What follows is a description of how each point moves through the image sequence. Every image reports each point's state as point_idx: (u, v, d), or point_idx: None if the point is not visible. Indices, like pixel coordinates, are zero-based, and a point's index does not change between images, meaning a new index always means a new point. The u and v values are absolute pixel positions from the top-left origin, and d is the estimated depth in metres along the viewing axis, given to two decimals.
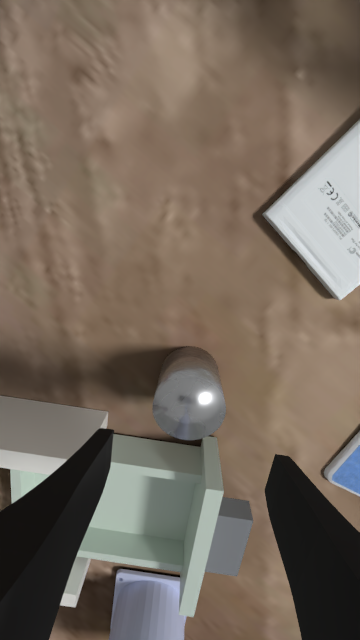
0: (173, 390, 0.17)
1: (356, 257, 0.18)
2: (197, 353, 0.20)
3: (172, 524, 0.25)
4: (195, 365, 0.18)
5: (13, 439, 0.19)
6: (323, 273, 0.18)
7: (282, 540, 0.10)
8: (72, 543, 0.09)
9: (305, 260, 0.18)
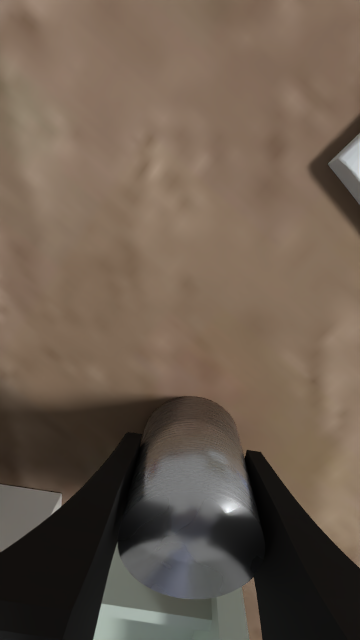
0: (158, 515, 0.08)
1: None
2: (204, 415, 0.11)
3: None
4: (202, 449, 0.09)
5: None
6: None
7: None
8: (110, 549, 0.09)
9: None
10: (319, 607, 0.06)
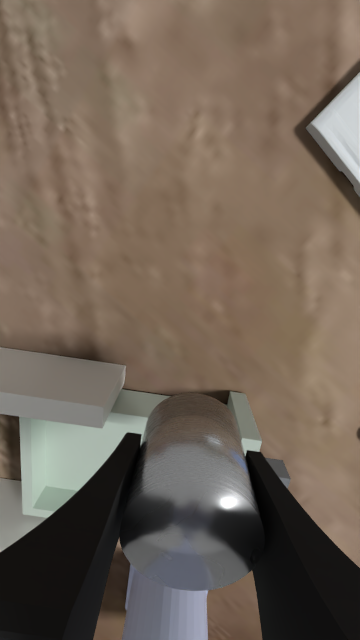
0: (160, 506, 0.08)
1: None
2: (205, 410, 0.11)
3: None
4: (203, 443, 0.10)
5: (24, 385, 0.17)
6: None
7: None
8: (110, 549, 0.09)
9: (355, 179, 0.16)
10: (319, 607, 0.06)
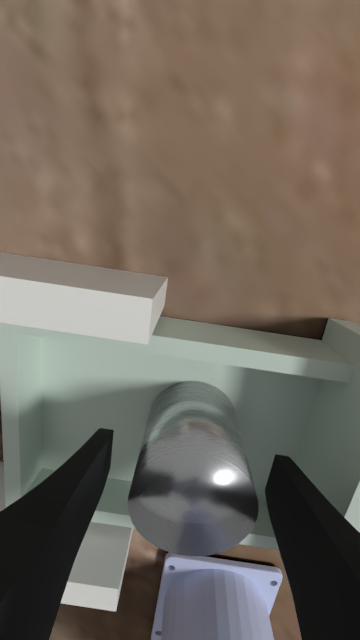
0: (166, 476, 0.09)
1: None
2: (207, 396, 0.12)
3: (265, 474, 0.15)
4: (205, 423, 0.10)
5: (3, 270, 0.09)
6: None
7: (282, 540, 0.10)
8: (72, 543, 0.09)
9: None
10: None
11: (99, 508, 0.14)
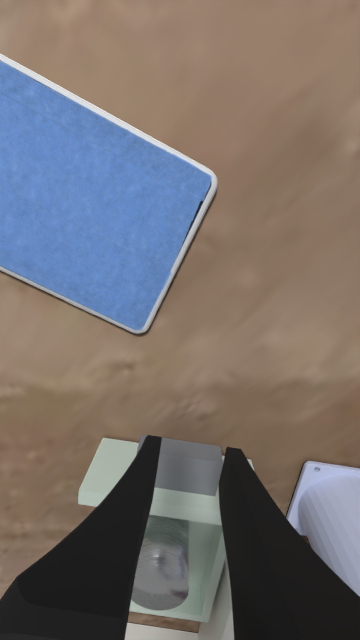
0: (138, 596, 0.20)
1: None
2: None
3: None
4: None
5: None
6: None
7: (226, 532, 0.10)
8: (138, 553, 0.09)
9: None
10: (279, 601, 0.06)
11: (208, 584, 0.24)
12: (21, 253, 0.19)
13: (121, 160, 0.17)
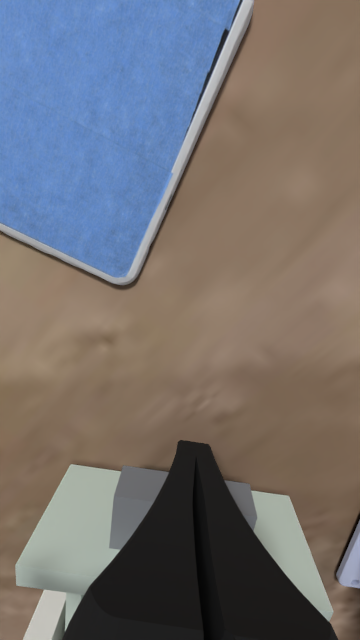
0: None
1: None
2: None
3: None
4: None
5: None
6: None
7: None
8: None
9: None
10: (214, 591, 0.06)
11: None
12: None
13: None
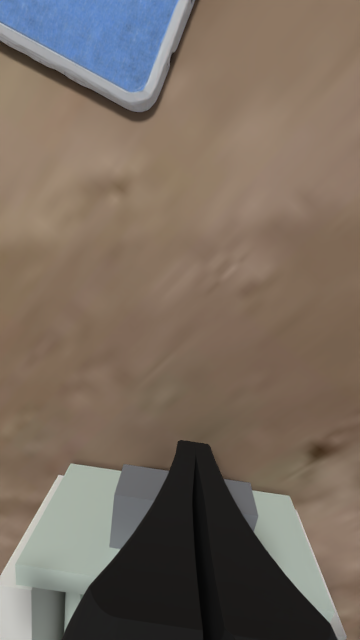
0: None
1: None
2: None
3: None
4: None
5: None
6: None
7: None
8: None
9: None
10: (214, 591, 0.06)
11: None
12: None
13: None
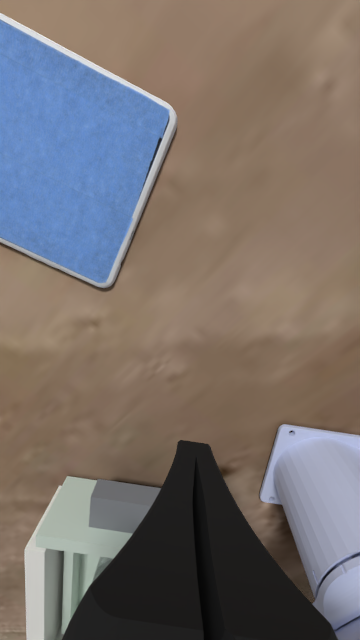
0: None
1: None
2: (99, 559, 0.24)
3: None
4: None
5: None
6: None
7: None
8: None
9: None
10: (214, 591, 0.06)
11: None
12: None
13: (73, 95, 0.16)
